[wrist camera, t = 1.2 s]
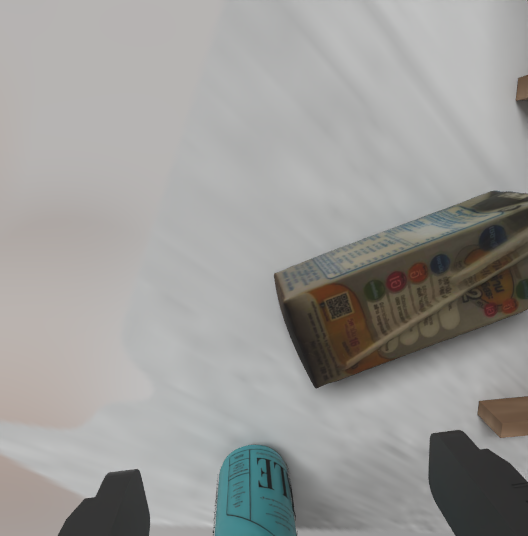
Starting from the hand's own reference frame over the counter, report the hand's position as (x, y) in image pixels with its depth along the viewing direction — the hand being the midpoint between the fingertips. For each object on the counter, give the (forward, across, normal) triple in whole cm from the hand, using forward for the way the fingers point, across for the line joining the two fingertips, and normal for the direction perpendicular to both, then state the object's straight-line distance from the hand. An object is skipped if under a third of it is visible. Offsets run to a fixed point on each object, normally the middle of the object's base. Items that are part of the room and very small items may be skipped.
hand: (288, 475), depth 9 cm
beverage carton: (+19, -11, +1) cm, 22 cm away
